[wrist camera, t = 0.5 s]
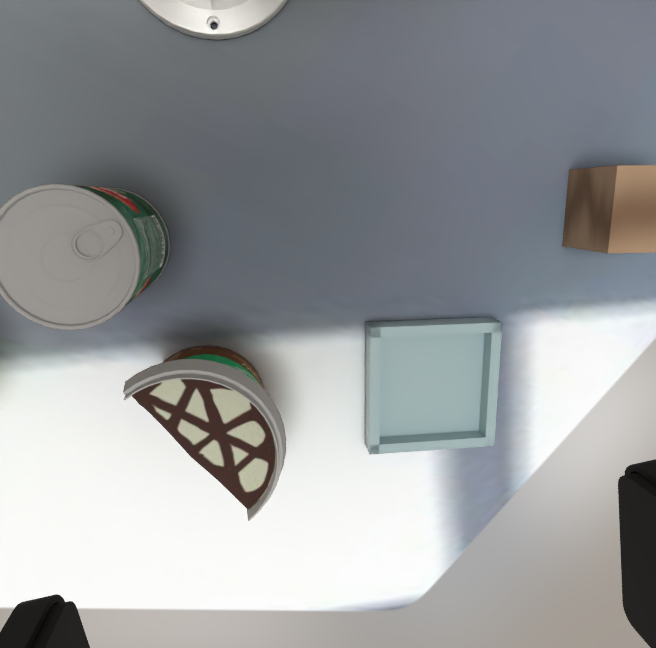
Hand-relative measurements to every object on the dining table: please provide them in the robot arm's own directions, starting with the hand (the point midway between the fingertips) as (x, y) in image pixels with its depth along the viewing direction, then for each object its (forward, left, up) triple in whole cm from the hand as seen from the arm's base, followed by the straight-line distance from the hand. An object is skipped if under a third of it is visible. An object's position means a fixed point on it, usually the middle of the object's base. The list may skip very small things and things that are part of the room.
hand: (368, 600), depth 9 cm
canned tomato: (-3, -12, -34) cm, 36 cm away
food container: (+8, -4, -34) cm, 35 cm away
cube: (-5, +26, -34) cm, 43 cm away
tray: (+9, +12, -34) cm, 37 cm away
